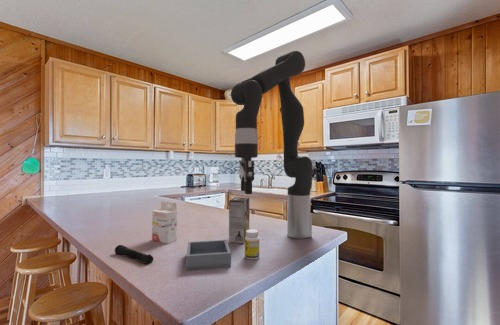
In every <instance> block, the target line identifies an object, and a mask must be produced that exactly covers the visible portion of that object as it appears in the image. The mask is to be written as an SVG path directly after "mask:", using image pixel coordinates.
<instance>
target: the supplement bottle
mask: <svg viewBox="0 0 500 325" xmlns="http://www.w3.org/2000/svg"><path fill="white" fill-rule="evenodd" d="M244 257H245V258H246V259H248V260H257V259H259V257H260V237H259V230H257V229H254V228H253V229H252V228H251V229H250V228H249V230H246V237H245V243H244Z"/></svg>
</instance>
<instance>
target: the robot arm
mask: <svg viewBox="0 0 500 325" xmlns="http://www.w3.org/2000/svg"><path fill="white" fill-rule="evenodd" d="M305 67H306V59H305V56H304V55H303V53H302V52H301V51H299V50H292V51H290V52H287V53H285V54H282V55H280V56H278V57H277V58H276V59H275V63H274V65H273V66H270V67H268V68H265V69H264V70H262V71H260V72H258V73H257V74H255V75H253V76H252V77H250V78H247V79H246V80H243V81H241V82H238V83H237V84H235V85H234V86H233V87H232V89H231V92H230V98H231V100H232V102H233V103H234V104H235V105H238V106H243V108H241V110H239V111H237V113H235V131H234V133H235V134H234V158H241V160H240V161H238V162H239V179H240V191H242V192H244V194H246V195H252V194H253V182H254V181H255V160H252V158H253V159H254V158H255V159H256V158H258V154H259V153H258V152H259V151H258V150H259V147H258V146H259V145H258V144H259V143H258V141H259V140H258V114H259V111H260V107H261V103H262V99H263V95H265V94H266V93H268V92H269V91H271V90H272V89H273V88H275V87H276V86H278V91H279V102H280V113H281V114H280V116H281V125H282V137H283V138H282V139H283V140H282V141H283V170H284V173H285V175H286V176H287V177H288V178H291V179H292V178H294V183H293V184H292V185H290V186H288V188H287V215H286V216H287V220H286V222H287V224H286V225H287V229H286V230H287V231H286V232H287V236H288V237H290V238H291V239H293V238H294V239H300V240H301V239H308V238H312V236H313V232H312V231H313V228H312V227H313V226H312V225H313V214H312V213H311V190H312V187H313V172H314V171H313V170H314V168H313V167H314V166H313V162H312V160H311V158H310V157H308V156H306V155H298V154H299V152H298V145H299V141H300V137H301V136H302V133H303V131H304V130H303V129H304V126H305V114H304V113H305V112H304V107H303V104H302V103H301V102H300V100H299V98H298V97H297V96H296V95H295V93H294V92H293V90H292V86H291V77H296V76H298V75H301V73H303V72H304V70H305Z"/></svg>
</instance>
